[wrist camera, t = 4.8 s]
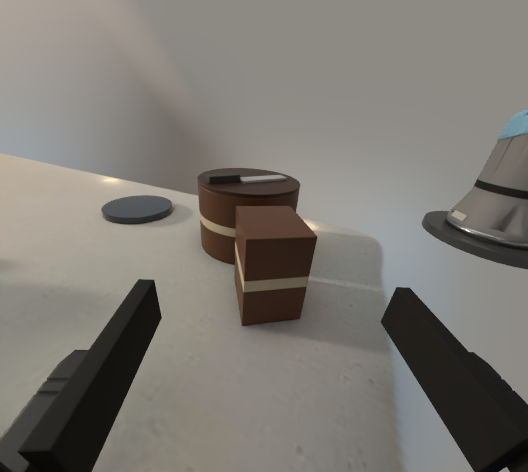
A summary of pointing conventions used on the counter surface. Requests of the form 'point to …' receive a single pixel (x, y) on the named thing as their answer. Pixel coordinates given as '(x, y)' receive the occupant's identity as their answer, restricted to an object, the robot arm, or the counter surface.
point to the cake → (237, 203)
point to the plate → (137, 209)
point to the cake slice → (271, 263)
